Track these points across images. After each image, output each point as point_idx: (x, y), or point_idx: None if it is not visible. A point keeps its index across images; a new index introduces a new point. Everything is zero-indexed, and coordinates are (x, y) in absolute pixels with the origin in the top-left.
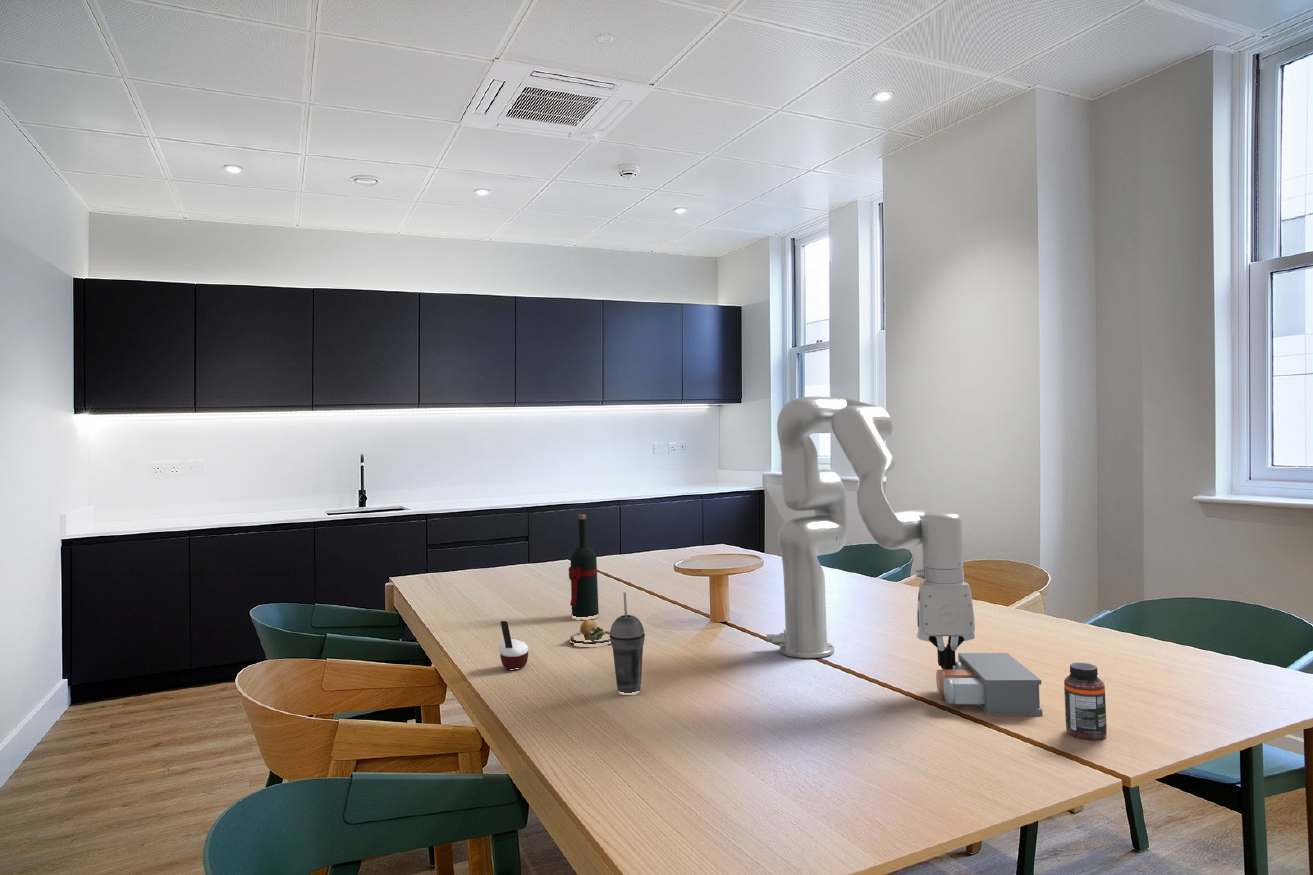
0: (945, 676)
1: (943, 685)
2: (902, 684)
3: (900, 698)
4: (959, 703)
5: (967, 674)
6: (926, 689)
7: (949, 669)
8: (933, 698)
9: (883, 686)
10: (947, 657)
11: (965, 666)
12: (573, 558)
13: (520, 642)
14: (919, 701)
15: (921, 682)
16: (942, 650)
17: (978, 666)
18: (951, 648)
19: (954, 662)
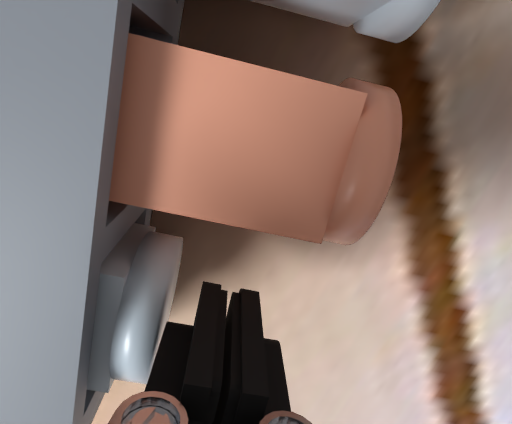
0: (368, 102)
1: (405, 39)
2: (381, 370)
3: (505, 198)
4: None
5: (186, 67)
6: (317, 292)
7: (225, 291)
8: None
9: (473, 361)
10: (234, 352)
11: (106, 278)
12: None
13: None
14: (448, 136)
15: (288, 379)
16: (279, 413)
17: (38, 85)
18: (183, 417)
19: (171, 332)
